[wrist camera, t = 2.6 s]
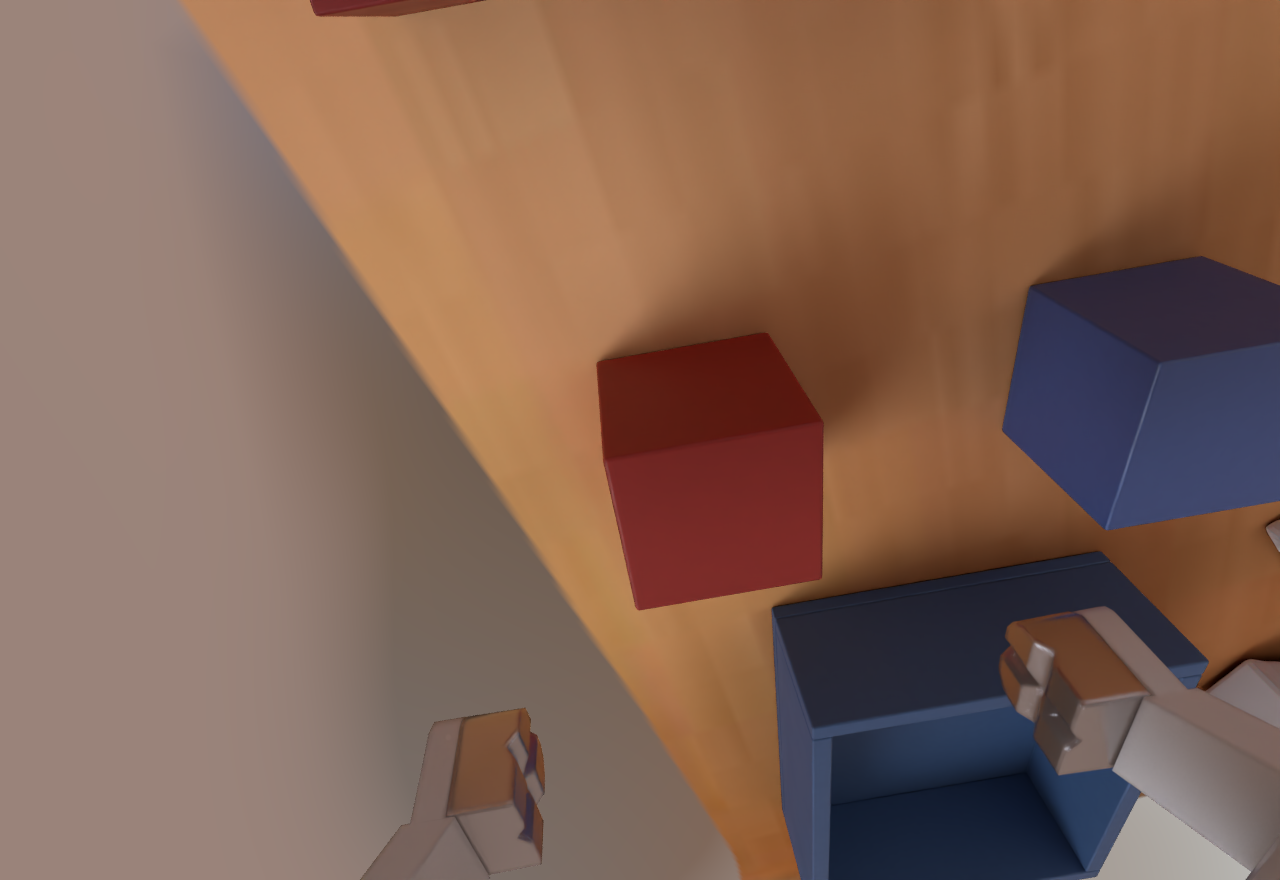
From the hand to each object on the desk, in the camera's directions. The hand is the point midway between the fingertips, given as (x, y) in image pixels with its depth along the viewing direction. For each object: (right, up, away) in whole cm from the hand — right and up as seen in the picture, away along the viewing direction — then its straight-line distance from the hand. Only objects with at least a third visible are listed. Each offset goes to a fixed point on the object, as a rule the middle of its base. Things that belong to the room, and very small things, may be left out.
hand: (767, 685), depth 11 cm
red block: (-1, +5, +7) cm, 8 cm away
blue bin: (+9, -6, +15) cm, 18 cm away
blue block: (+10, +7, +7) cm, 14 cm away
